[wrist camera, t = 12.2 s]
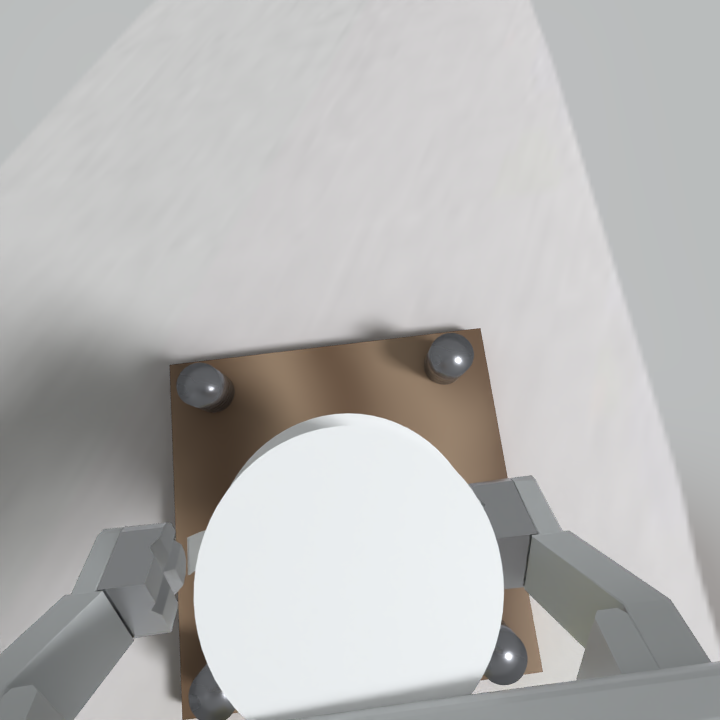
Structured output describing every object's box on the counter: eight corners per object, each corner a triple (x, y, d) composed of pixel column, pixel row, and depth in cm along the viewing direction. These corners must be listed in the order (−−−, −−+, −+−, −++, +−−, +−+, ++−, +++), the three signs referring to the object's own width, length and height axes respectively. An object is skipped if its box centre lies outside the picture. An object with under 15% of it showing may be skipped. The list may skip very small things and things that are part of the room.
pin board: (191, 707, 23) (159, 752, 19) (178, 369, 26) (148, 353, 23) (533, 661, 23) (565, 697, 19) (475, 334, 26) (492, 312, 23)
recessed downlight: (234, 646, 16) (66, 912, 6) (225, 430, 18) (79, 376, 8) (474, 615, 16) (666, 820, 7) (444, 408, 18) (565, 331, 8)
